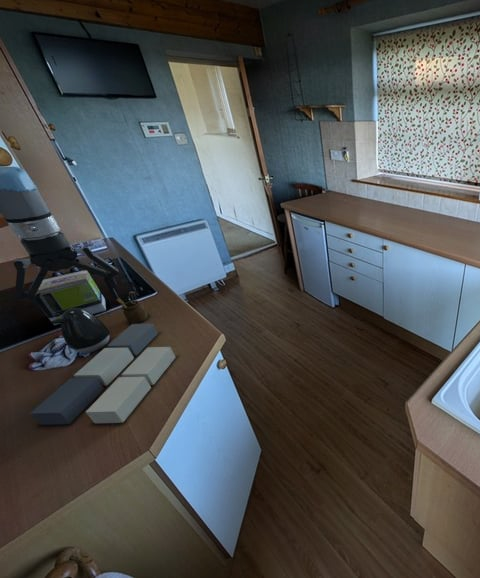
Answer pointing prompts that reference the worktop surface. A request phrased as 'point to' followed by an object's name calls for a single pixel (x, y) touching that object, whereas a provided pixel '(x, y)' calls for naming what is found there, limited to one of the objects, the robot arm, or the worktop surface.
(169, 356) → the white book
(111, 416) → the white book
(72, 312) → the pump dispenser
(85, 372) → the white book
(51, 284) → the tea box
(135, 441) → the worktop surface
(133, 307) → the utensil holder
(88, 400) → the grey book
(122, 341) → the grey book
